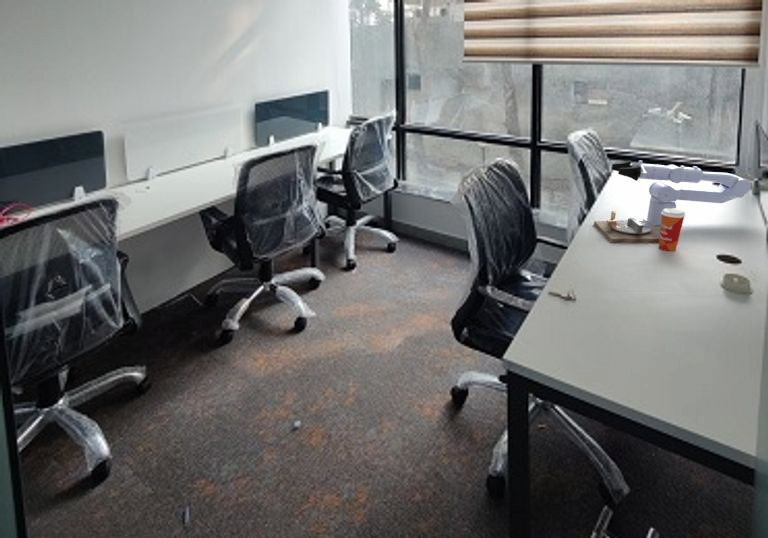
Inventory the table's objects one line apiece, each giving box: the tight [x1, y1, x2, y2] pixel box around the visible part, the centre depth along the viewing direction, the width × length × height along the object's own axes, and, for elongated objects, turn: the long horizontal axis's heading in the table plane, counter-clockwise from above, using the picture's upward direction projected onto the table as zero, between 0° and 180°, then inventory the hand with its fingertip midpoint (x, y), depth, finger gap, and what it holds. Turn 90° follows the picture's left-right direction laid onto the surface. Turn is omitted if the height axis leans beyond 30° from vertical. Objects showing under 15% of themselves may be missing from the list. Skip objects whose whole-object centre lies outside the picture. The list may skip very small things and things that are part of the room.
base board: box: [593, 220, 660, 244], centre depth 232 cm, size 21×21×2 cm
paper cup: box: [658, 207, 686, 253], centre depth 214 cm, size 8×8×14 cm
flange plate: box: [606, 217, 651, 234], centre depth 230 cm, size 16×16×4 cm
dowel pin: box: [609, 210, 617, 220], centre depth 237 cm, size 2×2×5 cm
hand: (615, 169), depth 237 cm, fingers open, 7 cm apart
